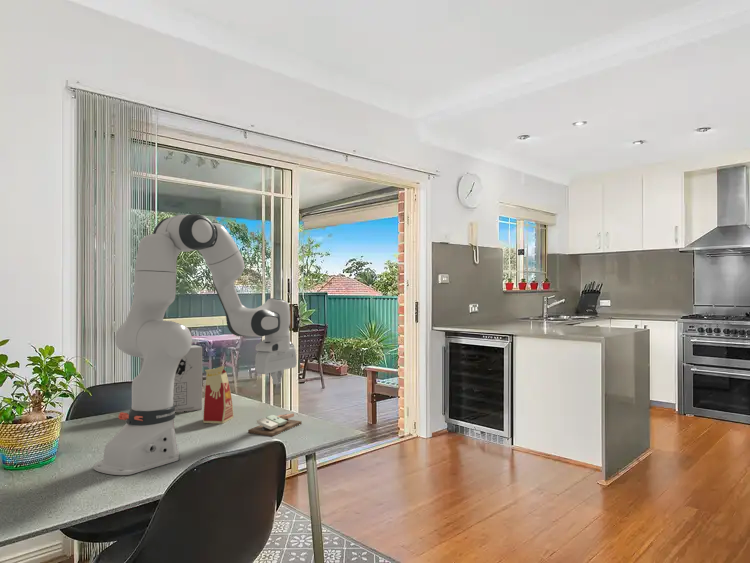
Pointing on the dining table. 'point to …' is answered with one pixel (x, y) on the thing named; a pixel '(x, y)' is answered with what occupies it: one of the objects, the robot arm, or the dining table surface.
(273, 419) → the two-dot tile
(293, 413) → the three-dot tile
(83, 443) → the dining table surface
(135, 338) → the robot arm
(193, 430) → the dining table surface
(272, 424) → the one-dot tile
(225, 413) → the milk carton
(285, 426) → the brown flat board
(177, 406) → the cereal box
